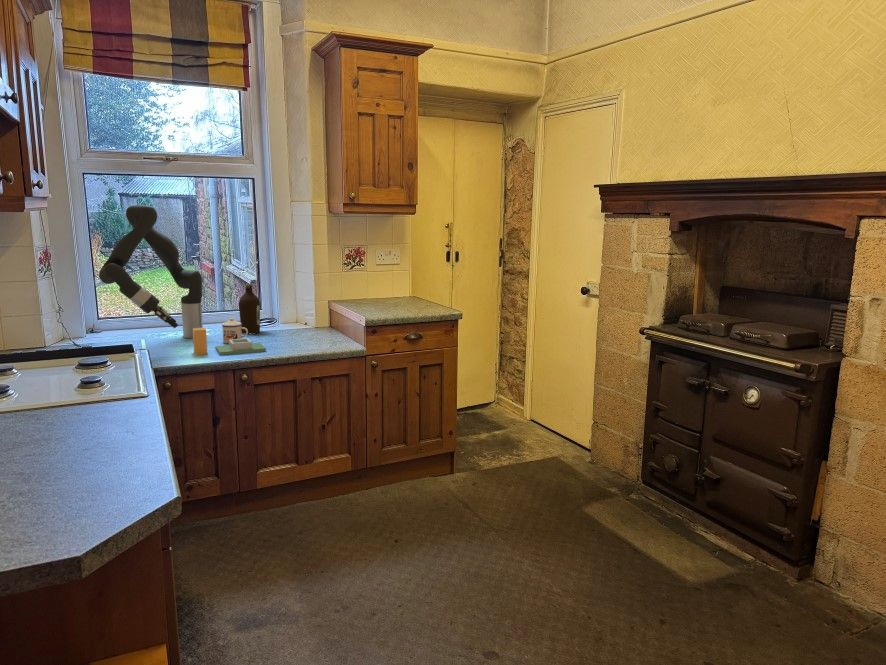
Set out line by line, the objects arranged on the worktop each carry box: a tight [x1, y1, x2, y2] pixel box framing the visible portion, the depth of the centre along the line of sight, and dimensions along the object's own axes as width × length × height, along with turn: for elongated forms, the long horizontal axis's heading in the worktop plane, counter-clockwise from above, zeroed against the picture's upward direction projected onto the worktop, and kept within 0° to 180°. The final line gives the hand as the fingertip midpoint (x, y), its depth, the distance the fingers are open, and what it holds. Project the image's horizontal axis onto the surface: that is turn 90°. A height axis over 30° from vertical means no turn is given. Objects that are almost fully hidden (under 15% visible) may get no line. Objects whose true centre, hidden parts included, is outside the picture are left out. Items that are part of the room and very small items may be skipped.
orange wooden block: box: [192, 327, 208, 356], centre depth 270 cm, size 5×5×11 cm
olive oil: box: [238, 284, 261, 334], centre depth 314 cm, size 11×11×25 cm
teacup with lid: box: [221, 317, 249, 345], centre depth 293 cm, size 12×9×12 cm
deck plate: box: [214, 337, 267, 356], centre depth 278 cm, size 13×20×4 cm, turn 118°
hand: (175, 324), depth 264 cm, fingers open, 8 cm apart
